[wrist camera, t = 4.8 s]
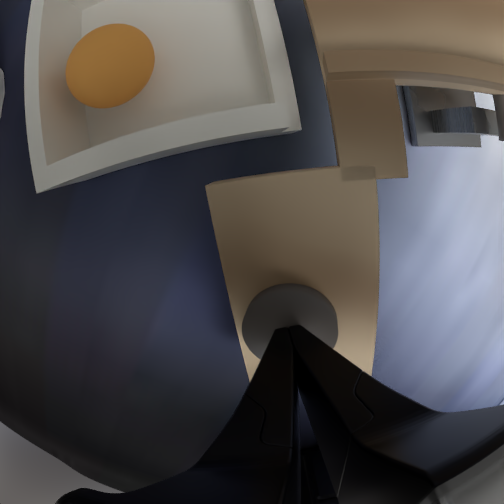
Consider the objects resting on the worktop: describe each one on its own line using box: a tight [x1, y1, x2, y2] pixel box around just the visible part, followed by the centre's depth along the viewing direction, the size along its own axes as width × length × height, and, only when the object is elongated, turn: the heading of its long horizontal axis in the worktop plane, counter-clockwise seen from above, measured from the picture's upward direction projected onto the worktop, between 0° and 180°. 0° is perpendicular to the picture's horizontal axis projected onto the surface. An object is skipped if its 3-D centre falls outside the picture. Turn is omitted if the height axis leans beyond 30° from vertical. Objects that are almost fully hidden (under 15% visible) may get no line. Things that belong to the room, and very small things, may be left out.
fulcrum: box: [402, 85, 499, 147], centre depth 7 cm, size 9×4×3 cm, turn 10°
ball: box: [66, 23, 155, 108], centre depth 7 cm, size 3×3×3 cm
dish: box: [24, 0, 302, 193], centre depth 7 cm, size 9×9×4 cm
